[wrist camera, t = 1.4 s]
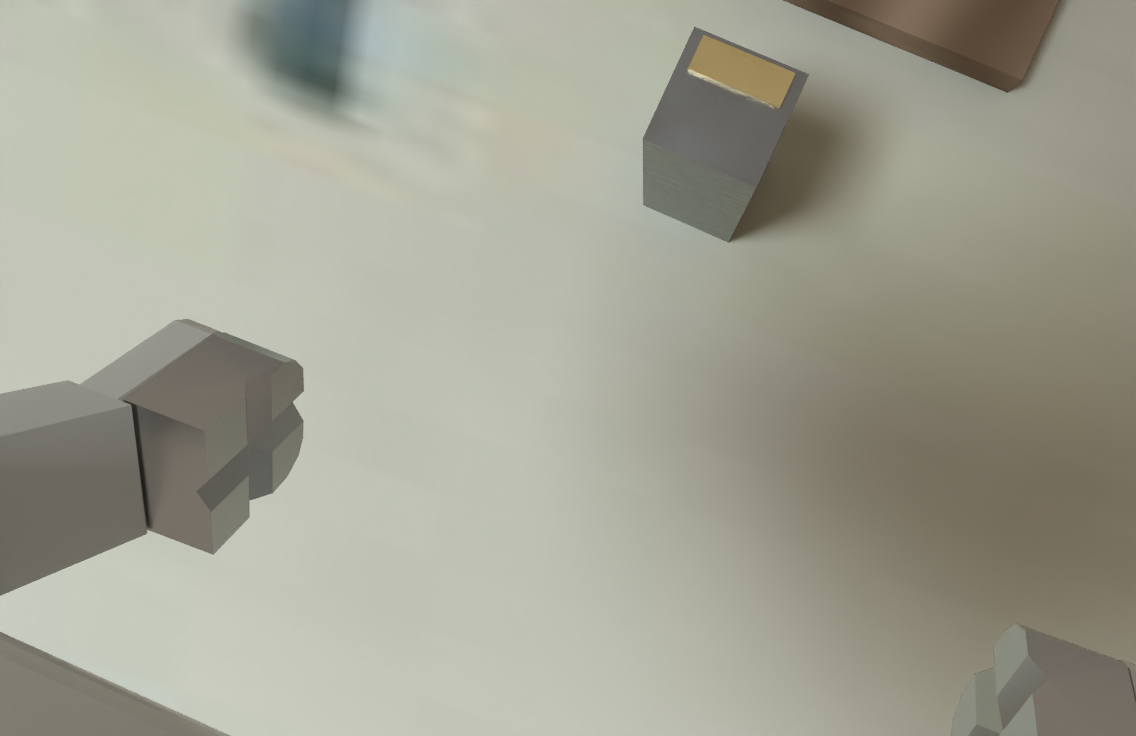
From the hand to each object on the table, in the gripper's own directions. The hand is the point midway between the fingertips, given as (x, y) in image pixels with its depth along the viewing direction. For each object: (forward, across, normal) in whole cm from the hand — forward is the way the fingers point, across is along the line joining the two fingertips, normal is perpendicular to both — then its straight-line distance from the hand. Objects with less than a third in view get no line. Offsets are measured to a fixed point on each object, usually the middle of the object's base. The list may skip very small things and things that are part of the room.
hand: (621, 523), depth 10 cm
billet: (+30, +3, +8) cm, 31 cm away
